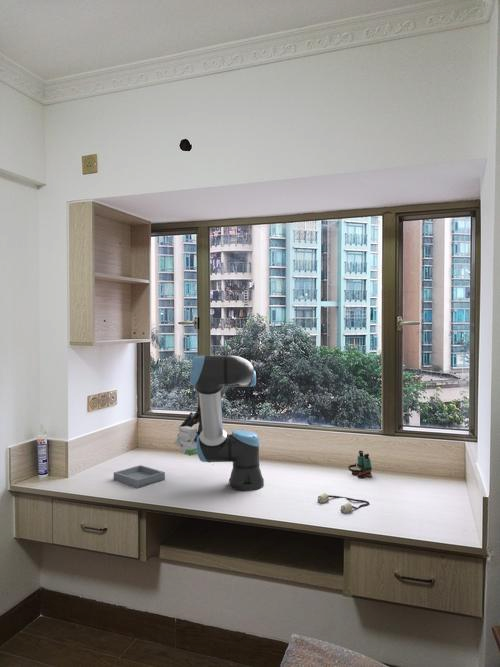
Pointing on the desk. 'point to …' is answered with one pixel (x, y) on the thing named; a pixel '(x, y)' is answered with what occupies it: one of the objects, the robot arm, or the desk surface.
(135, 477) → the gray tray
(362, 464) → the binoculars
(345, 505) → the grey balls with cord
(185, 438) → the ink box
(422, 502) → the desk surface
